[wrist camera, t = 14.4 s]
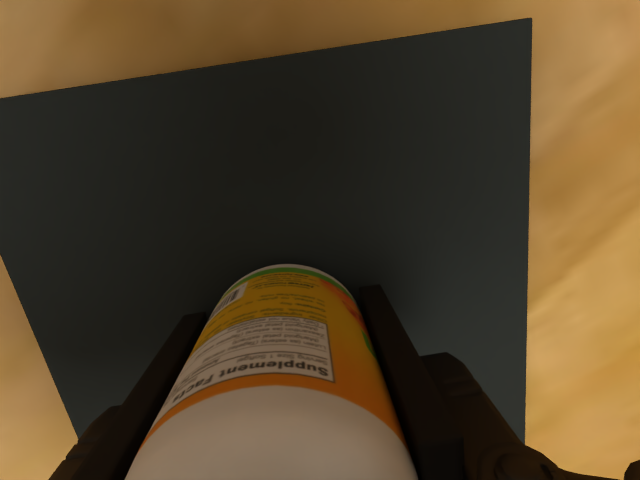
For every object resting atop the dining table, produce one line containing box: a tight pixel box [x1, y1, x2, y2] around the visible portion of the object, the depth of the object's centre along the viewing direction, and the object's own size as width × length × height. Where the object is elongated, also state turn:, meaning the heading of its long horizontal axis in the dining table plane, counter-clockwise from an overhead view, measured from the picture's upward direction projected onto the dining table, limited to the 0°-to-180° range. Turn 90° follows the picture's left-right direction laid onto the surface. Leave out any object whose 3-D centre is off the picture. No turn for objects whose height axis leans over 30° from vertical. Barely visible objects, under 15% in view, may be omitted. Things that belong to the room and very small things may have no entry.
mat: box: [0, 18, 532, 445], centre depth 13 cm, size 18×18×1 cm
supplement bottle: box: [125, 264, 419, 480], centre depth 8 cm, size 5×5×10 cm
